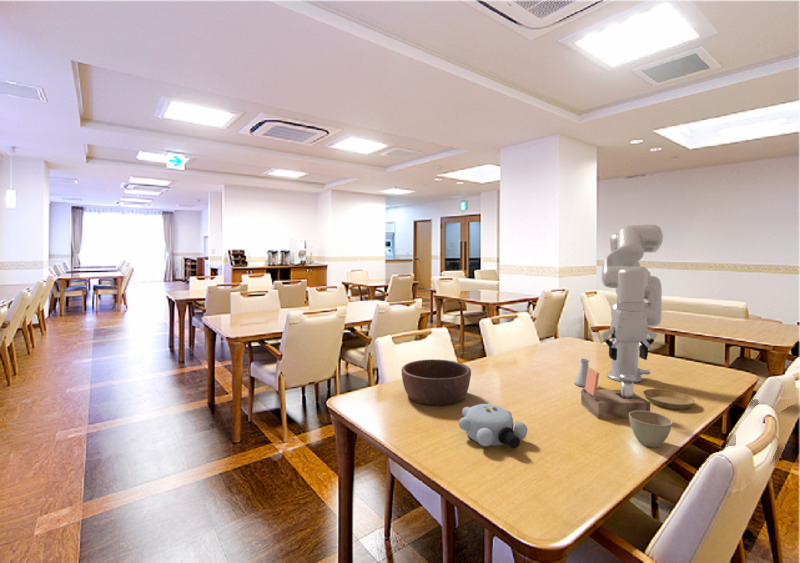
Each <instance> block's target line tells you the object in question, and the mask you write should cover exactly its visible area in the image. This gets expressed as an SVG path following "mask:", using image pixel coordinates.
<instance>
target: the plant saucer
mask: <svg viewBox="0 0 800 563" xmlns="http://www.w3.org/2000/svg"><path fill="white" fill-rule="evenodd" d="M642 394H643V396H644V397H645V399H647V401H648V402H650V404H651V403H652V404H654V405H656V406H657V407H662V408H665V407H666V409H671V408H672V409H674V410H684V409H687V408H689V407H691V406H692V405H693V404H694V403H695V401H696V400H695V399H694V398H693V397H691V396H689V395H687V394H685V393H681V392H679V391H678V392H677V391H674V390H668V389H663V388H662V389H661V388H649V389H644V390H643V391H642Z"/></svg>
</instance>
